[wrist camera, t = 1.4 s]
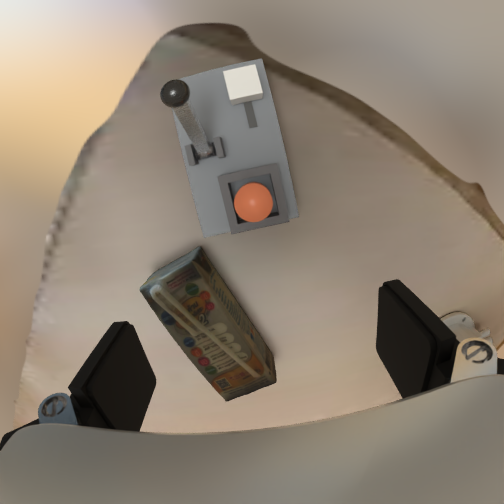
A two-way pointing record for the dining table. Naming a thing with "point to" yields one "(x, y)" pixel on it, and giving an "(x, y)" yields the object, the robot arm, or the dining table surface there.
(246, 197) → the button
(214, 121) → the panel
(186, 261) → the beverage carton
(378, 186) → the dining table surface
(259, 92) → the slider
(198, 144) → the lever
